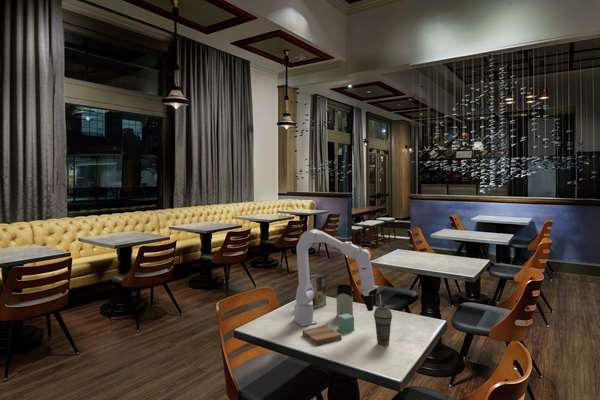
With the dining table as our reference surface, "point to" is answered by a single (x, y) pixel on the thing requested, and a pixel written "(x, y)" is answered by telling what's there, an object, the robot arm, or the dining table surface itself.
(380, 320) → the beverage cup
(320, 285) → the coffee box
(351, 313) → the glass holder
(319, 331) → the walnut base
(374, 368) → the dining table surface
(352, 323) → the teal block
